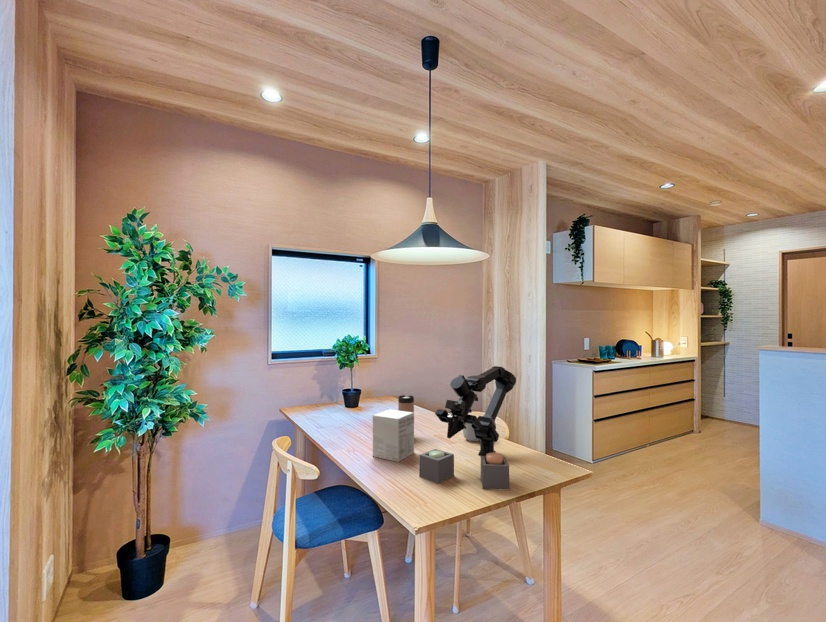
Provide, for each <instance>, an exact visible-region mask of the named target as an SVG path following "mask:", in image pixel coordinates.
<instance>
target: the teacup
mask: <svg viewBox="0 0 826 622" xmlns="http://www.w3.org/2000/svg"><path fill="white" fill-rule="evenodd" d="M462 434H463V437H464V438H465V439H466V440H467V441H468V442H469V441H470V442H480V439H478V438H476V437H475V432H474V429H473V428H472V424H469V423H468V424H466V429H463V430H462Z"/></svg>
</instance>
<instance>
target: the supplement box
mask: <svg viewBox="0 0 826 622" xmlns="http://www.w3.org/2000/svg"><path fill="white" fill-rule="evenodd" d="M414 453H415V411H414V412H405V411H398V409H386V410H383V411H381V412H378V413H375V414H372V457H373V456H374V458H378V457H379V458H378V459H383V460H388V461H393V462H397V463H398V462H401V461H402V460H404V459H406V458H408V457H409V456H411V455H413V454H414Z"/></svg>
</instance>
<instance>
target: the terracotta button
mask: <svg viewBox="0 0 826 622" xmlns="http://www.w3.org/2000/svg"><path fill="white" fill-rule="evenodd" d="M503 457H504V455H503V454H501V453H499V452H495V453H488V454H486V464H502V465H503Z"/></svg>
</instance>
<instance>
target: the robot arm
mask: <svg viewBox="0 0 826 622" xmlns="http://www.w3.org/2000/svg"><path fill="white" fill-rule="evenodd" d="M493 381H495V382H494V384H495V390H494V392H493V394H492V397H491V400H490V401H489V403H488V406H487V409H486V411H485V413H484V415H478V417H477V416H476V415H473V414H472V412H473V410H472V407H473V405H474V402H478V401H479V398H478V393H481V392H483V391H484V390H485V389H486V388H487V385H488V384H489V383H490V382H493ZM516 383H517V377H516V376H515V375H514V374H513V373H512V372H510V371H509V370H507V369H506V368H504V367H503V366H498V365H495V366H491V368H490V369H488V370H485V371H484V372H482V373H480V374H477V375H471V376H467V377H466V378H465V376H464V375H462V374H459V375H458V376H456V377H455V378H453V379H452V380H451V381H450V384H449V385H450V387H451V389H452V391H454V393H455V394H456V395H457V397H459V398H458V400H451V399H446V401H445V406H444V408H445V409H443V408H437V409H436V411H435V413H434V415H435V416H436V418H438V419H439V421H440V422H442V423H446V424H447V434H446V439H451V438H453V437H454V436H455V435H457V434H458V433H460V432H461V431H463V429H466V424H468V423H469V424H472V428H473V429H474V432H475V437H476V438H478V439H480V441H479V442H480V445H479V446H480V448H479V452H478V456H486V454H488V453H496V450H495V442H498V440H499V437H500V434H499V433H498V431H497V424H496V419H497V417H498V414H499V411H500V410H501V408H502V405H503V403H504V401H505V398H506V395H507V394H508V393H509V392H511V391H513V388H515V387H514V386H515V385H516ZM475 392H476V393H475ZM477 392H478V393H477ZM447 409H448V410H449V412H448V410H447ZM469 413H470V414H469Z"/></svg>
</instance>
